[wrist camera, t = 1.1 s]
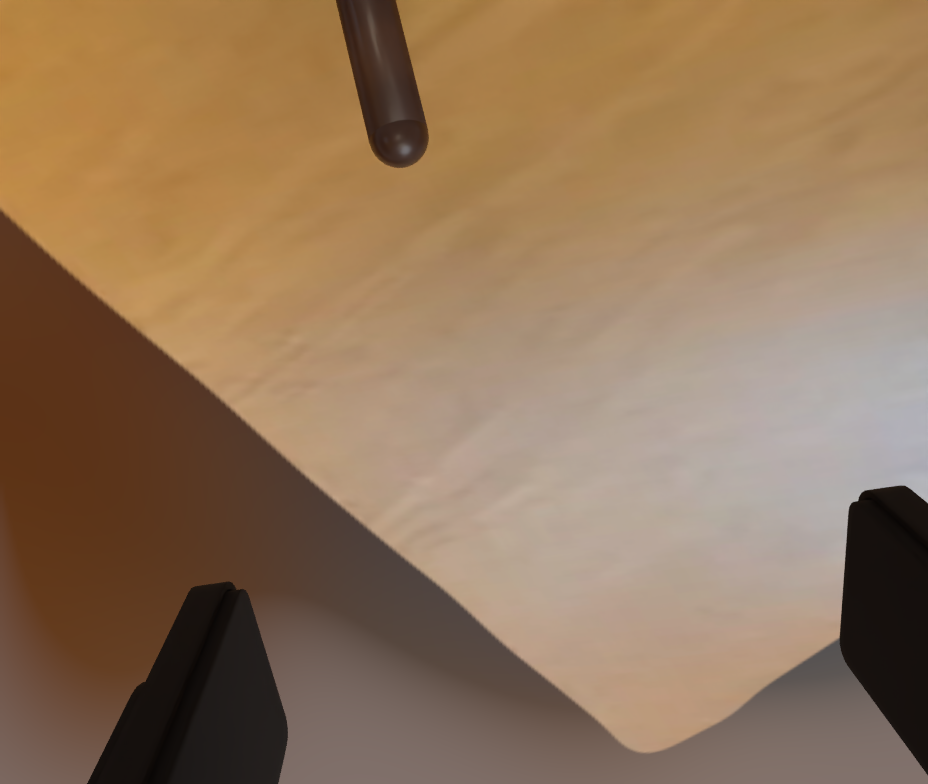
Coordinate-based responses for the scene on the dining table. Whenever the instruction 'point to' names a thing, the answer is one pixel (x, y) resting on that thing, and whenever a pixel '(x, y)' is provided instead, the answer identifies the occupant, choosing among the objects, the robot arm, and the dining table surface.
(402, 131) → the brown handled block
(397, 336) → the dining table surface
